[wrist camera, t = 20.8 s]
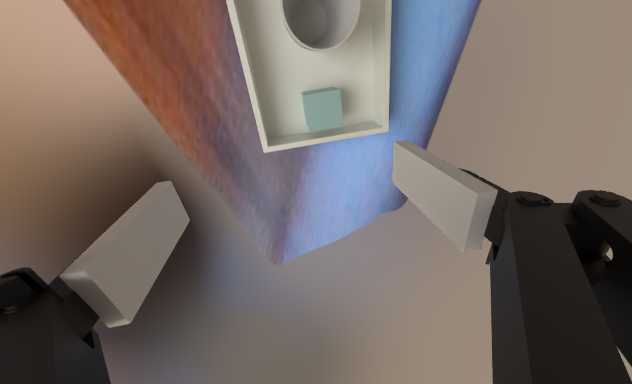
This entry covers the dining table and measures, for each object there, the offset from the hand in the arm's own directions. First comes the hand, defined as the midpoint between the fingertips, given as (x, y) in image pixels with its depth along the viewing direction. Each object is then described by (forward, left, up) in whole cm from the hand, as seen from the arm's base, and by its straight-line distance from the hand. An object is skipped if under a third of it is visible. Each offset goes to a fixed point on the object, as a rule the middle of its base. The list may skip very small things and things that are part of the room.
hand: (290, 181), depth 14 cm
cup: (-11, +6, -26) cm, 29 cm away
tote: (-6, +6, -27) cm, 28 cm away
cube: (0, +6, -26) cm, 27 cm away
